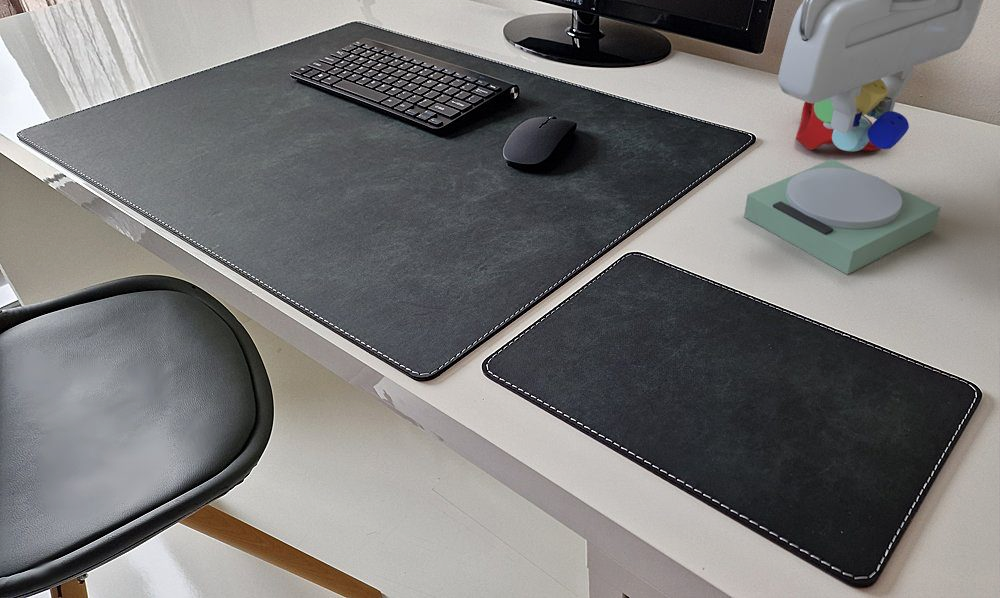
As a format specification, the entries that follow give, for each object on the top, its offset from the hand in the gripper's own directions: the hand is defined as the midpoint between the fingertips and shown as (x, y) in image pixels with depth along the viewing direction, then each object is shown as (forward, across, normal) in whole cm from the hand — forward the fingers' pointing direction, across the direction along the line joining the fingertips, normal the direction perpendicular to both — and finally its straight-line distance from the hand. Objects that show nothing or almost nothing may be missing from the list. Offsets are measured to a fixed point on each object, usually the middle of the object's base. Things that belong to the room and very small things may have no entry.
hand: (861, 122), depth 69 cm
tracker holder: (+10, +15, +12) cm, 22 cm away
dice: (+3, 0, 0) cm, 3 cm away
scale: (+10, 0, 0) cm, 10 cm away
